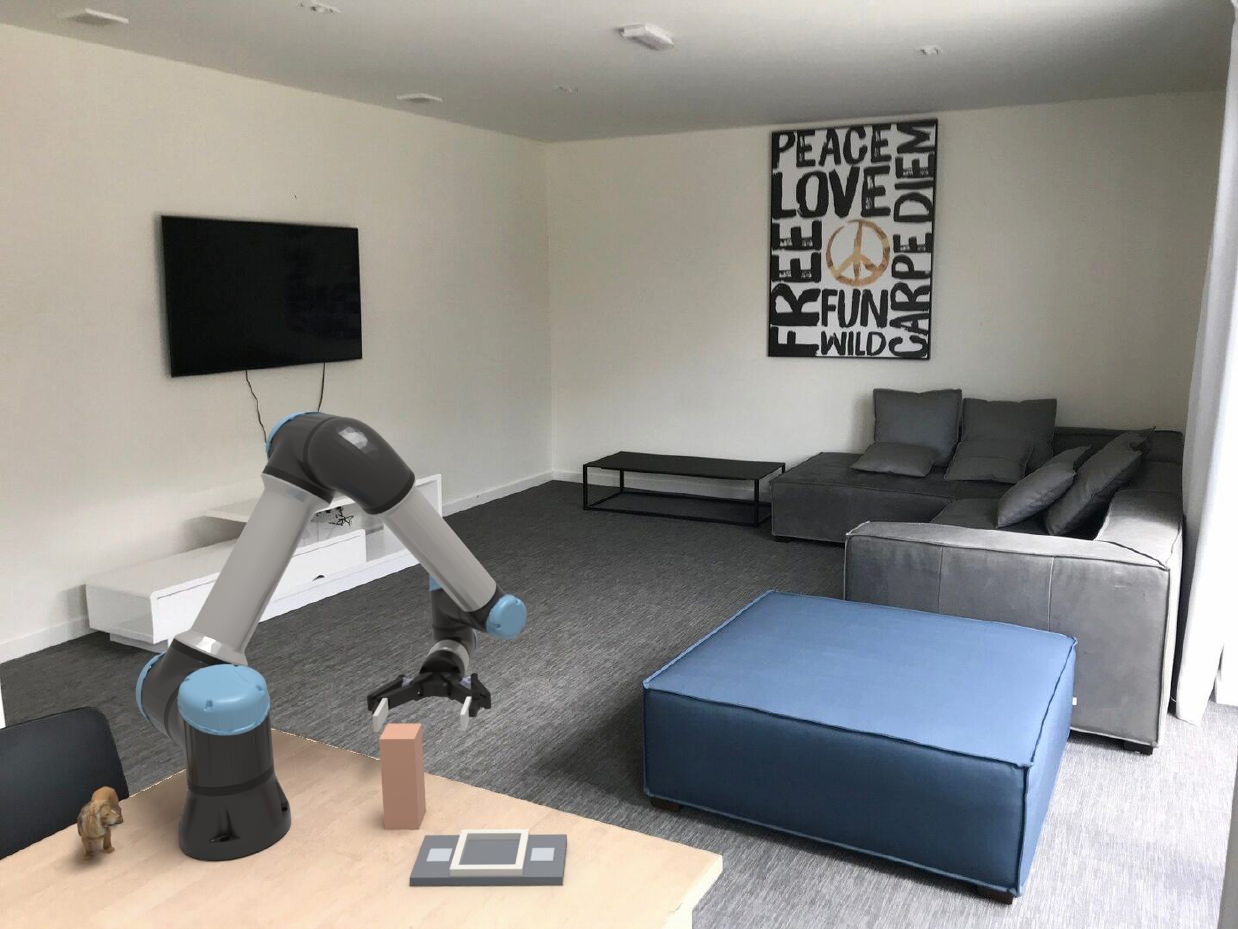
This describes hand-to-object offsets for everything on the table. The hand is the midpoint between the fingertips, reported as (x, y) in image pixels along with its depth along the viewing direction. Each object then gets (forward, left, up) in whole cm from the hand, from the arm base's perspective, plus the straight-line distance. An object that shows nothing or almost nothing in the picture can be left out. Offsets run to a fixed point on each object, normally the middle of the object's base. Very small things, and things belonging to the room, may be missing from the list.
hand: (419, 723), depth 153 cm
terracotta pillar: (+6, -8, -10) cm, 15 cm away
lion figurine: (-25, -37, -11) cm, 46 cm away
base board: (+24, -9, -10) cm, 27 cm away
